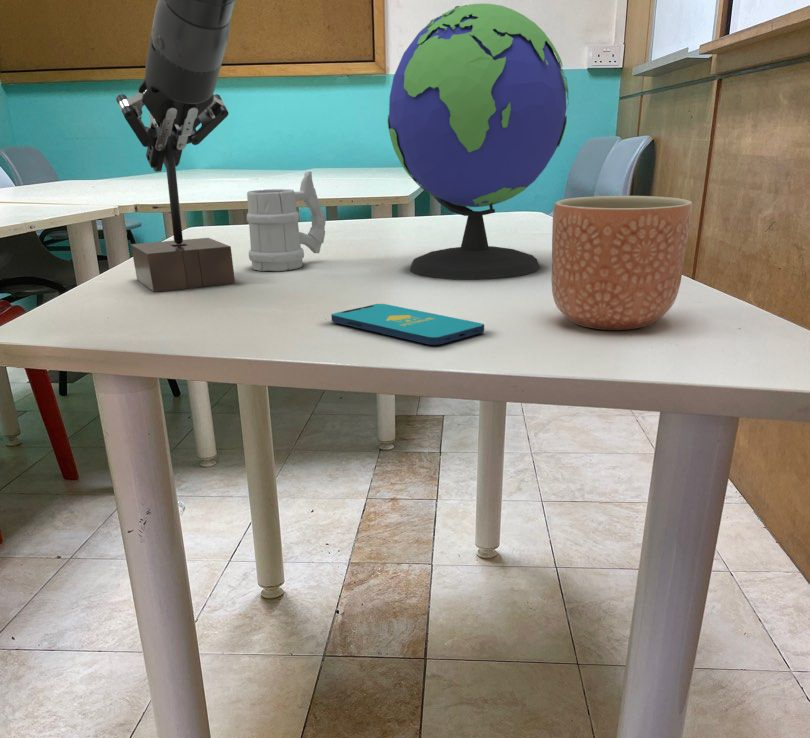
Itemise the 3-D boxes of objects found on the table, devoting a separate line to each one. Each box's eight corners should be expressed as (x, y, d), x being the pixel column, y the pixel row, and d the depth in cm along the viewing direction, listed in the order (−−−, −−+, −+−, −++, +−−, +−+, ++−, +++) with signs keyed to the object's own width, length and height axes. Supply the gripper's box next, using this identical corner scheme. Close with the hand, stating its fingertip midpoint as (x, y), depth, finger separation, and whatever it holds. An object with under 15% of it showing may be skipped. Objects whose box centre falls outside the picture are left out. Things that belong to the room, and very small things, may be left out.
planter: (523, 317, 82) (528, 200, 77) (622, 304, 86) (633, 193, 81) (596, 344, 72) (608, 211, 67) (705, 327, 76) (724, 202, 71)
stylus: (175, 245, 102) (163, 129, 95) (173, 243, 103) (161, 128, 96) (184, 244, 103) (172, 129, 96) (182, 242, 104) (170, 128, 97)
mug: (240, 267, 114) (230, 174, 109) (313, 258, 120) (307, 169, 115) (264, 273, 109) (255, 176, 103) (340, 264, 115) (334, 171, 109)
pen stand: (153, 292, 99) (147, 253, 97) (136, 280, 107) (130, 244, 105) (235, 283, 103) (230, 246, 101) (213, 272, 111) (208, 237, 109)
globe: (369, 280, 103) (356, -2, 89) (417, 253, 122) (413, 17, 108) (545, 285, 97) (561, -17, 83) (567, 256, 116) (584, 6, 102)
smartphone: (434, 337, 72) (327, 312, 81) (434, 346, 72) (327, 321, 82) (488, 324, 76) (380, 302, 86) (488, 332, 76) (381, 310, 86)
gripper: (232, 18, 90) (199, 140, 105) (112, 11, 83) (95, 143, 97) (259, 71, 89) (223, 187, 103) (140, 68, 82) (118, 193, 96)
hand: (161, 165), depth 100 cm, fingers closed on stylus, 1 cm apart
